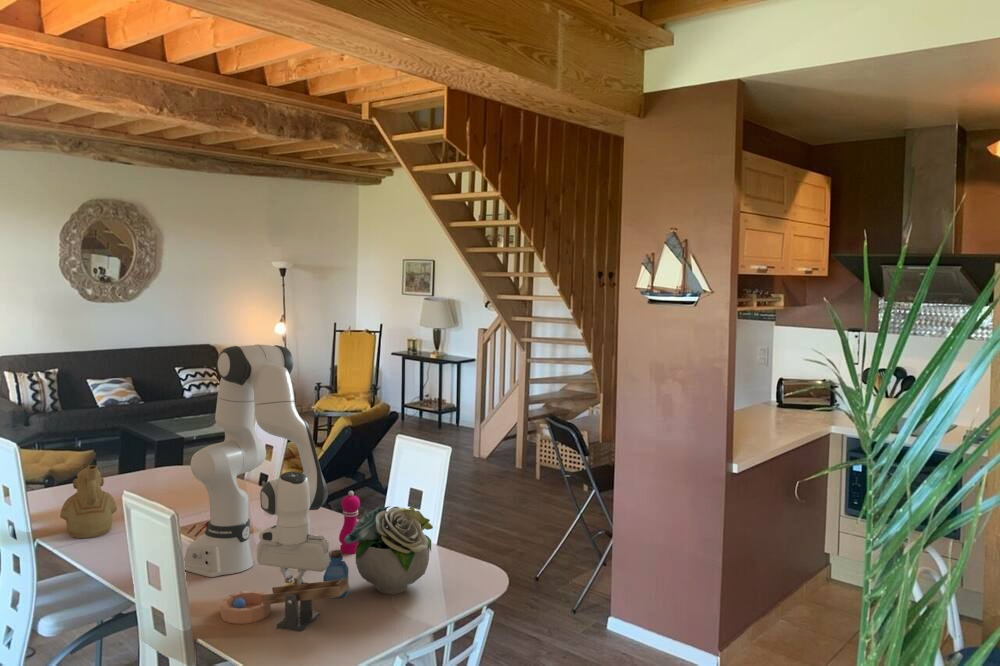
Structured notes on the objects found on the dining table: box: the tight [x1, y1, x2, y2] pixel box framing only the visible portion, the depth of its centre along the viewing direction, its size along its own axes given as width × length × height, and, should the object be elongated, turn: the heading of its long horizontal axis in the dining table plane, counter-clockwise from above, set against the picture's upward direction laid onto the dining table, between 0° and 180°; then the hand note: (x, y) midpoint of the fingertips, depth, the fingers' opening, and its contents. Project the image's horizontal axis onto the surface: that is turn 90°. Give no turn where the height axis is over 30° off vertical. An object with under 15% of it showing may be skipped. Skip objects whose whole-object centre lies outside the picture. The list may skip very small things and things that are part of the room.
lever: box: [262, 577, 350, 605], centre depth 196 cm, size 22×14×3 cm, turn 76°
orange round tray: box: [220, 590, 272, 625], centre depth 197 cm, size 12×12×4 cm
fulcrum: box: [276, 581, 321, 633], centre depth 193 cm, size 7×10×9 cm
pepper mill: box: [338, 490, 361, 555], centre depth 244 cm, size 7×7×20 cm
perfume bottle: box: [322, 549, 349, 598], centre depth 211 cm, size 6×6×12 cm
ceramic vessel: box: [59, 464, 118, 539], centre depth 254 cm, size 17×20×25 cm
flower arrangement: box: [344, 506, 434, 595], centre depth 215 cm, size 25×25×24 cm
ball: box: [233, 598, 245, 609], centre depth 197 cm, size 3×3×3 cm
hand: (293, 583), depth 202 cm, fingers closed
